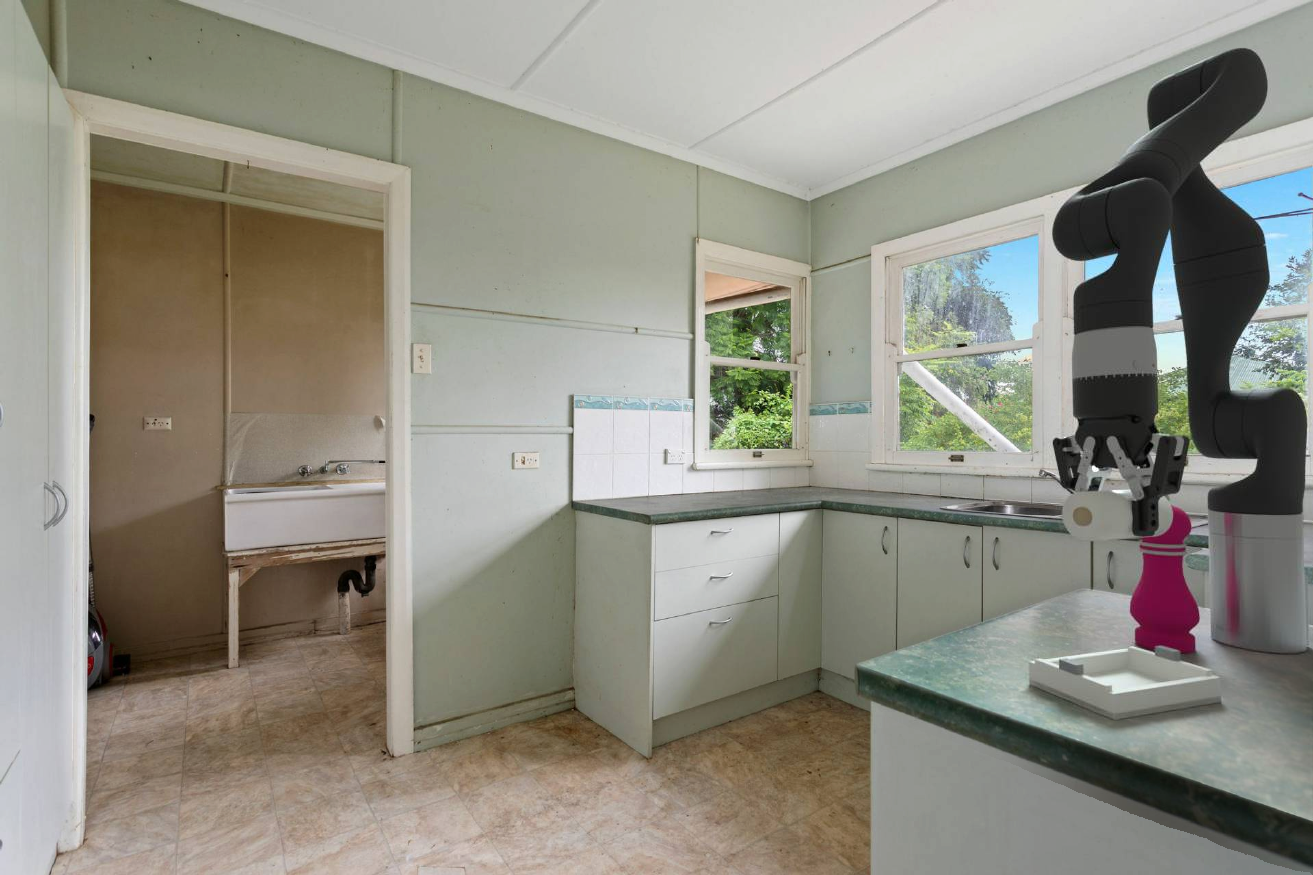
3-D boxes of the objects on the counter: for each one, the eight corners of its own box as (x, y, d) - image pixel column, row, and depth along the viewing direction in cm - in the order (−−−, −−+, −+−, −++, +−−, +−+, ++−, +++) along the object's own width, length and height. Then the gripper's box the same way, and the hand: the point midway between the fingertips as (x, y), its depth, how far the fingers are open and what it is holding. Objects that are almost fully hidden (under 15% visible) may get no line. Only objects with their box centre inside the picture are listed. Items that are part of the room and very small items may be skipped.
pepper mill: (1214, 656, 81) (1210, 494, 81) (1148, 653, 83) (1144, 494, 83) (1180, 639, 88) (1176, 490, 88) (1119, 636, 90) (1116, 490, 90)
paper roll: (1128, 533, 74) (1126, 487, 74) (1176, 539, 69) (1173, 489, 69) (1060, 538, 71) (1058, 490, 72) (1105, 544, 66) (1102, 492, 67)
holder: (1127, 669, 77) (1126, 635, 77) (1221, 701, 67) (1220, 662, 67) (1028, 684, 73) (1027, 648, 73) (1113, 720, 63) (1112, 678, 63)
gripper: (1211, 367, 65) (1215, 539, 64) (1081, 381, 78) (1084, 523, 78) (1153, 365, 63) (1158, 544, 62) (1030, 380, 76) (1033, 526, 76)
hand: (1117, 531), depth 70 cm, fingers closed on paper roll, 5 cm apart
